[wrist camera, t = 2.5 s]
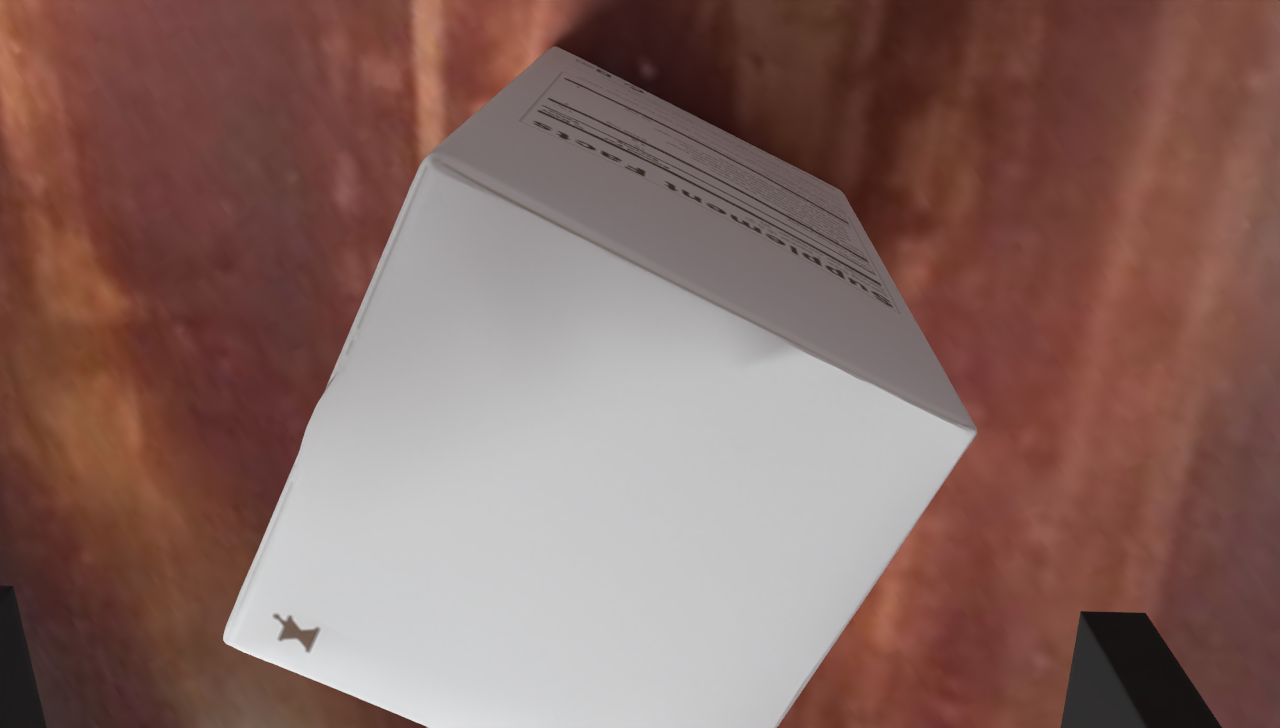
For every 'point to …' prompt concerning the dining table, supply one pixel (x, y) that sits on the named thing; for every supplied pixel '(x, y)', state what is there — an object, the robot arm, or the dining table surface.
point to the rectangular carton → (603, 431)
